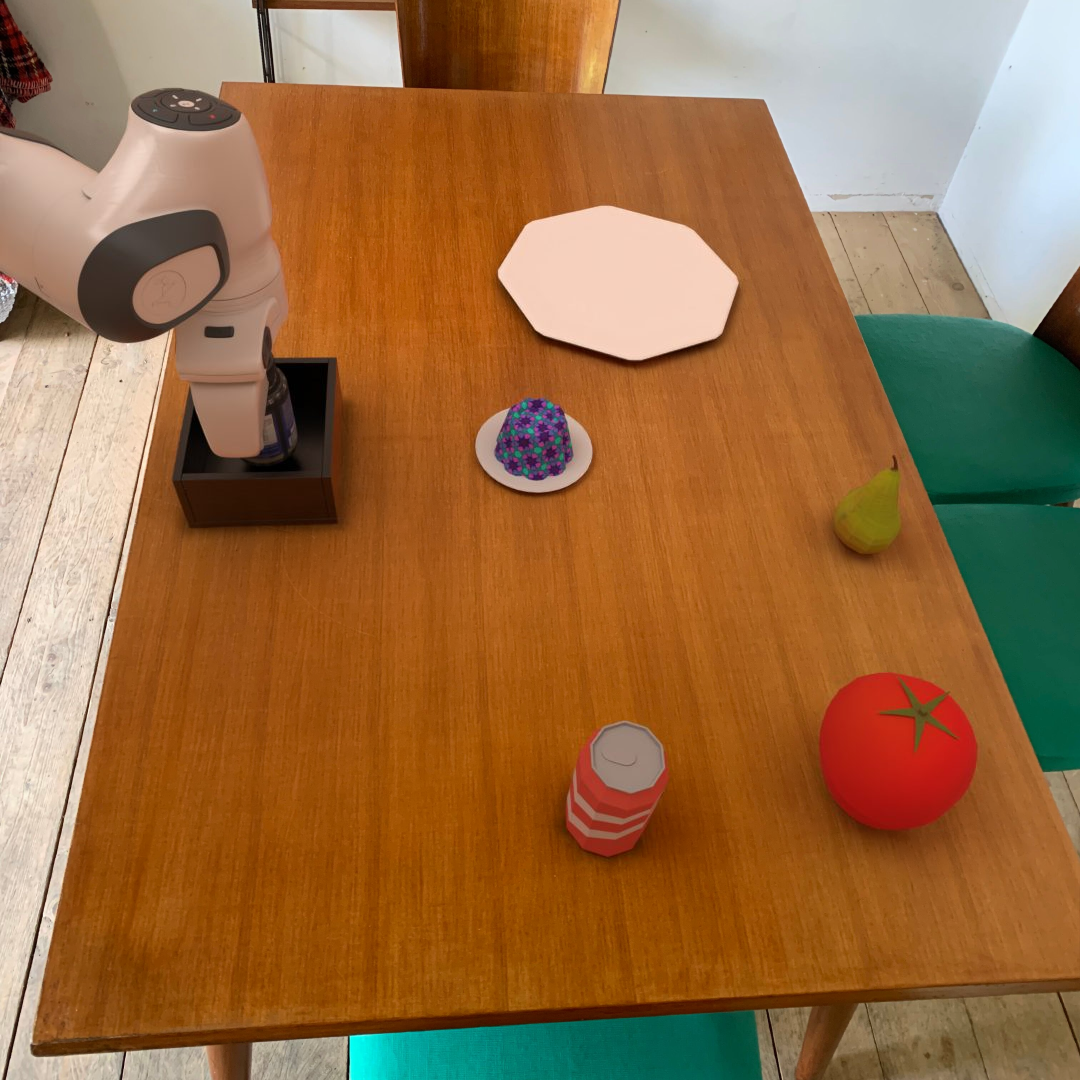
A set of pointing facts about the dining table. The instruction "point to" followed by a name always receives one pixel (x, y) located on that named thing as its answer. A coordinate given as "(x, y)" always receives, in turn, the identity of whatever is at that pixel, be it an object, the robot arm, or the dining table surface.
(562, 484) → the pudding
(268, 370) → the pill bottle
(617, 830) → the beverage can
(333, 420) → the open box
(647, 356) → the plate
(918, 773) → the tomato
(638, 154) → the dining table surface
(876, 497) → the fruit
